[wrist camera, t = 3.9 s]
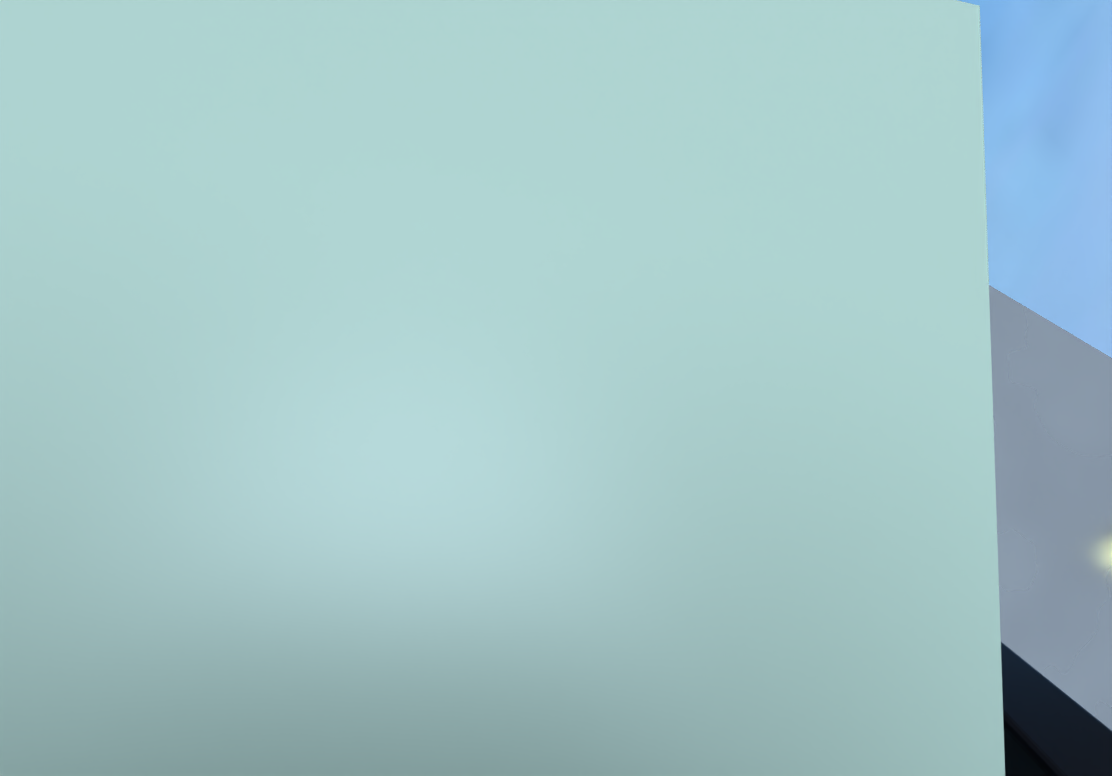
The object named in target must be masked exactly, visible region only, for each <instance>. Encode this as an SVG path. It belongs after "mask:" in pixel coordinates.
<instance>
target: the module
mask: <svg viewBox="0 0 1112 776" xmlns="http://www.w3.org/2000/svg"><path fill="white" fill-rule="evenodd" d="M0 776H1005V755H1004V725H1003V694H1002V665H1001V634H1000V604H999V574H998V544H997V514H996V484H995V454H994V424H993V394H992V364H991V334H990V304H989V274H988V244H987V214H986V184H985V154H984V124H983V94H982V64H981V34H980V6H978V5H974V4H970V3H966V2H961V1H957V0H0Z"/></svg>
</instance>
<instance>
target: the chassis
mask: <svg viewBox="0 0 1112 776" xmlns="http://www.w3.org/2000/svg"><path fill="white" fill-rule="evenodd" d="M989 304H990V334H991V364H992V394H993V424H994V454H995V484H996V514H997V544H998V574H999V604H1000V634H1001V642H1002V643H1003V644H1005V645H1006V646H1007V647H1008V648H1010V649H1011V650H1012V651H1013V652H1015V653H1016V654H1017V655H1018V656H1020V657H1021V658H1022V659H1023V660H1025V661H1026V662H1027V663H1028V664H1030V665H1031V666H1032V667H1033V668H1035V669H1036V670H1037V671H1038V672H1040V673H1041V674H1042V675H1043V676H1044V677H1046V678H1047V679H1048V680H1049V681H1051V682H1052V683H1053V684H1054V685H1056V686H1057V687H1058V688H1059V689H1061V690H1062V691H1063V692H1064V693H1066V694H1067V695H1068V696H1069V697H1071V698H1072V699H1073V700H1074V701H1076V702H1077V703H1078V704H1079V705H1081V706H1082V707H1083V708H1084V709H1085V710H1087V711H1088V712H1089V713H1090V714H1092V715H1093V716H1094V717H1095V718H1097V719H1098V720H1099V721H1100V722H1102V723H1103V724H1104V725H1105V726H1107V727H1108V728H1109V729H1110V730H1112V358H1111V357H1109V356H1107V355H1106V354H1104V353H1102V352H1101V351H1099V350H1097V349H1096V348H1094V347H1092V346H1090V345H1089V344H1087V343H1085V342H1084V341H1082V340H1080V339H1079V338H1077V337H1075V336H1074V335H1072V334H1070V333H1069V332H1067V331H1065V330H1064V329H1062V328H1060V327H1059V326H1057V325H1055V324H1053V323H1052V322H1050V321H1048V320H1047V319H1045V318H1043V317H1042V316H1040V315H1038V314H1037V313H1035V312H1033V311H1032V310H1030V309H1028V308H1027V307H1025V306H1023V305H1022V304H1020V303H1018V302H1016V301H1015V300H1013V299H1011V298H1010V297H1008V296H1006V295H1005V294H1003V293H1001V292H1000V291H998V290H996V289H995V288H993V287H991V286H990V285H989Z"/></svg>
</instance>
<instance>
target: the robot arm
mask: <svg viewBox="0 0 1112 776" xmlns="http://www.w3.org/2000/svg"><path fill="white" fill-rule="evenodd" d="M1001 665H1002V694H1003V725H1004V755H1005V776H1112V730H1110V729H1109V728H1108V727H1107V726H1105V725H1104V724H1103V723H1102V722H1100V721H1099V720H1098V719H1097V718H1095V717H1094V716H1093V715H1092V714H1090V713H1089V712H1088V711H1087V710H1085V709H1084V708H1083V707H1082V706H1081V705H1079V704H1078V703H1077V702H1076V701H1074V700H1073V699H1072V698H1071V697H1069V696H1068V695H1067V694H1066V693H1064V692H1063V691H1062V690H1061V689H1059V688H1058V687H1057V686H1056V685H1054V684H1053V683H1052V682H1051V681H1049V680H1048V679H1047V678H1046V677H1044V676H1043V675H1042V674H1041V673H1040V672H1038V671H1037V670H1036V669H1035V668H1033V667H1032V666H1031V665H1030V664H1028V663H1027V662H1026V661H1025V660H1023V659H1022V658H1021V657H1020V656H1018V655H1017V654H1016V653H1015V652H1013V651H1012V650H1011V649H1010V648H1008V647H1007V646H1006V645H1005V644H1003V643H1002V642H1001Z"/></svg>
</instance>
